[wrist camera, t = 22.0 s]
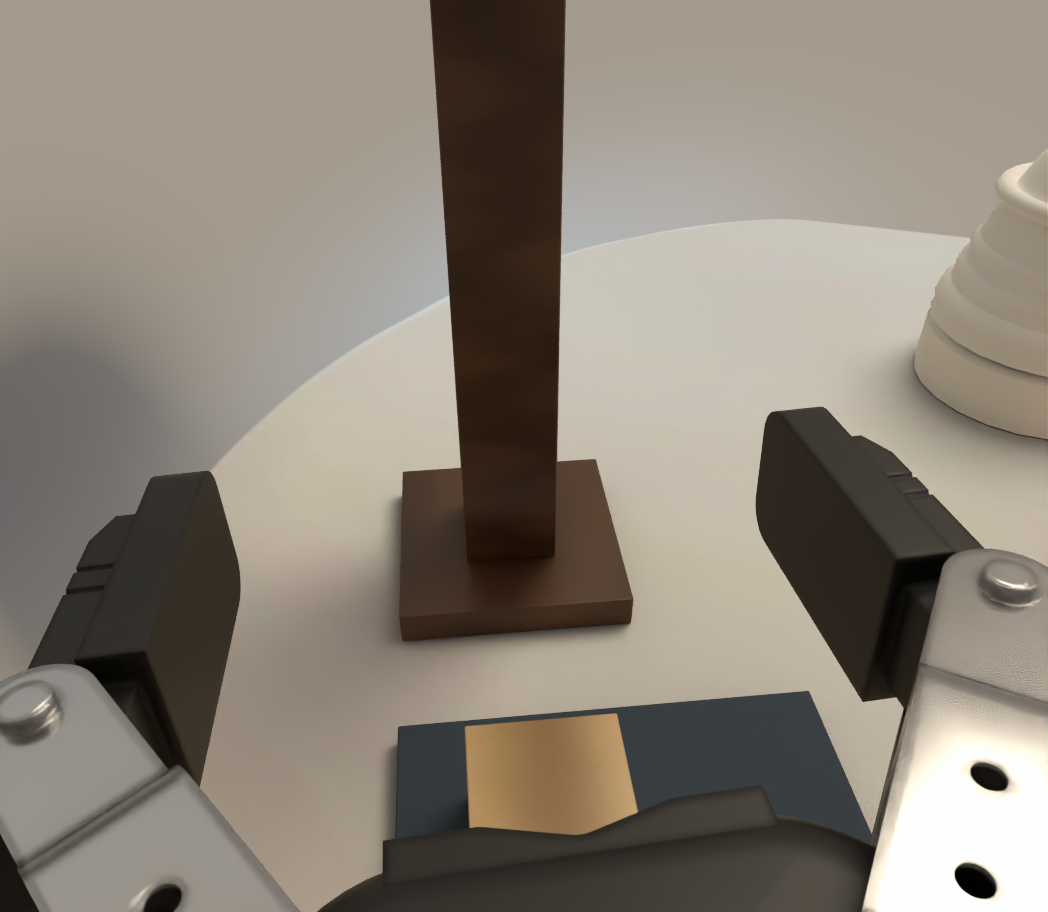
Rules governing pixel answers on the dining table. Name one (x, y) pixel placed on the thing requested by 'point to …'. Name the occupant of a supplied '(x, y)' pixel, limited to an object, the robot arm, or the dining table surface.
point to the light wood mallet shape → (548, 775)
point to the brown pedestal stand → (505, 352)
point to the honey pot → (996, 313)
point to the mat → (660, 760)
